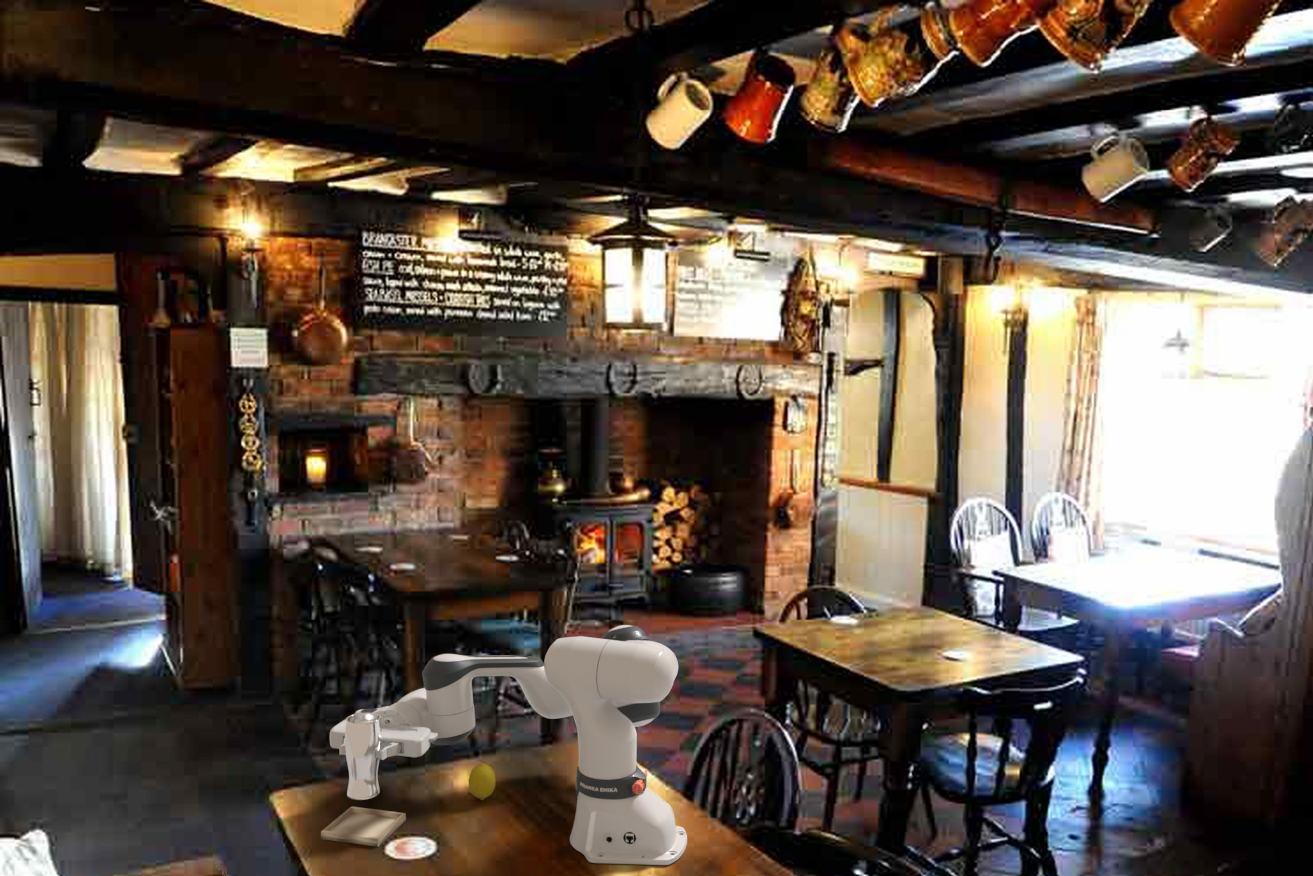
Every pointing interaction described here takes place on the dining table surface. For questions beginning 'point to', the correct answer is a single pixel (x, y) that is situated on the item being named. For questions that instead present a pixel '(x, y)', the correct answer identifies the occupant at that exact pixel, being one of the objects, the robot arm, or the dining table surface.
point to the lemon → (482, 781)
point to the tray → (363, 826)
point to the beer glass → (363, 754)
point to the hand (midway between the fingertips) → (360, 753)
